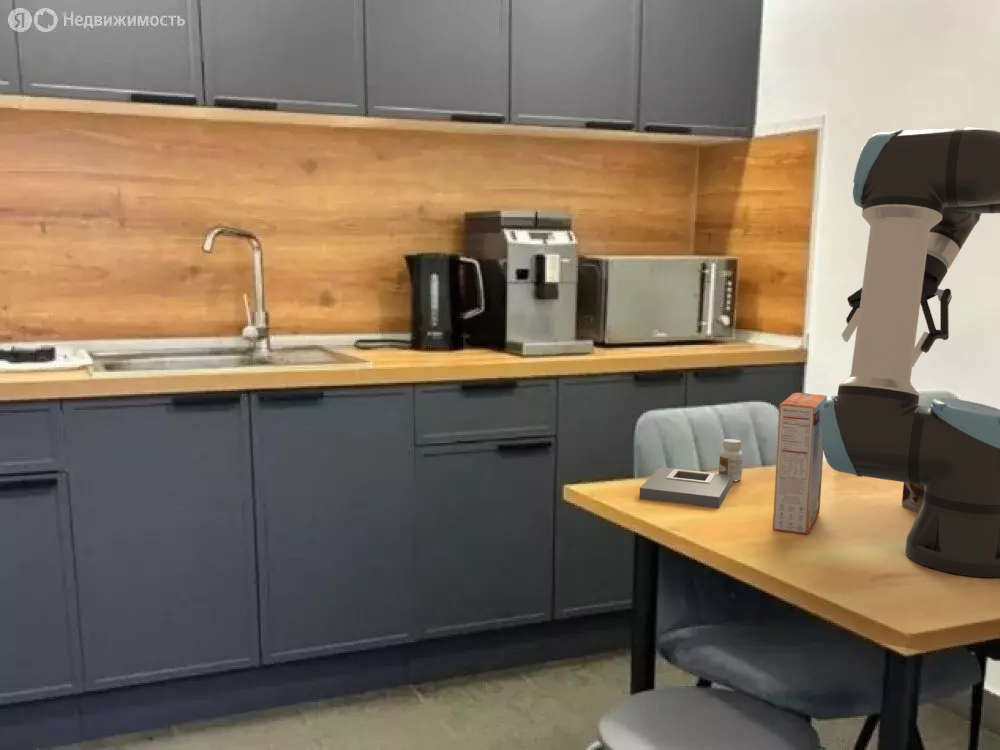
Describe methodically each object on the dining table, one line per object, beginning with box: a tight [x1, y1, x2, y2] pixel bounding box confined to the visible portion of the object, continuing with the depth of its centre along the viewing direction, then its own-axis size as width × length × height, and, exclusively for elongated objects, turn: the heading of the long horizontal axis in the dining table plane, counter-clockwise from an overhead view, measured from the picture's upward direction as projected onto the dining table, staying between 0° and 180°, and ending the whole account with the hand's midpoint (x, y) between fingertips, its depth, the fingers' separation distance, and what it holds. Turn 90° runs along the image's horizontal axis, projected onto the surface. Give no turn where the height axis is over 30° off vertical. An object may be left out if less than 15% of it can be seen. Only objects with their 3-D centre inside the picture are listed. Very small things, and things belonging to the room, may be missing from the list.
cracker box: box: [772, 392, 828, 535], centre depth 155 cm, size 14×6×21 cm, turn 154°
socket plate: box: [638, 466, 733, 509], centre depth 175 cm, size 18×14×2 cm
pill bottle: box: [718, 438, 744, 482], centre depth 185 cm, size 4×4×8 cm
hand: (876, 350), depth 184 cm, fingers open, 13 cm apart
